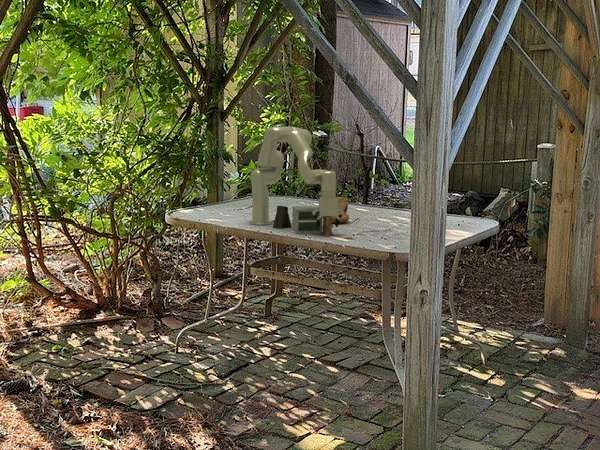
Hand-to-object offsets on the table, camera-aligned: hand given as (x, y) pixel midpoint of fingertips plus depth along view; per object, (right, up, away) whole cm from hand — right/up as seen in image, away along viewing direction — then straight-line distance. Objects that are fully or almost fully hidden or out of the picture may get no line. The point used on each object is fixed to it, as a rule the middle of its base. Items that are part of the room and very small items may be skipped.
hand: (327, 226), depth 402 cm
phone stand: (-24, -1, +23) cm, 34 cm away
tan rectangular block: (0, -4, +1) cm, 4 cm away
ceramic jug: (+7, +2, +43) cm, 44 cm away
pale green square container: (-8, -3, +6) cm, 10 cm away
